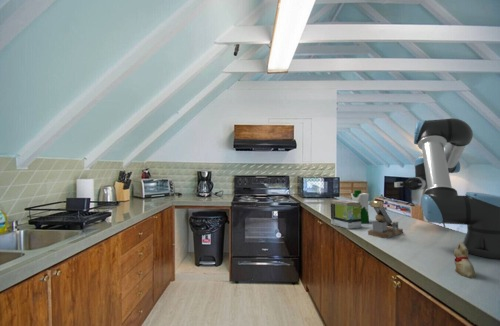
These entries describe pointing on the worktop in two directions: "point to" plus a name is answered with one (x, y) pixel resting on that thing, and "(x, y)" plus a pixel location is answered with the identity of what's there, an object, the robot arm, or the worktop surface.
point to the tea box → (346, 213)
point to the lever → (381, 211)
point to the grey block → (380, 226)
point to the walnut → (379, 217)
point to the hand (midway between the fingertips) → (395, 184)
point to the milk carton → (362, 204)
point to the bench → (388, 231)
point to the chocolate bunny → (463, 262)
